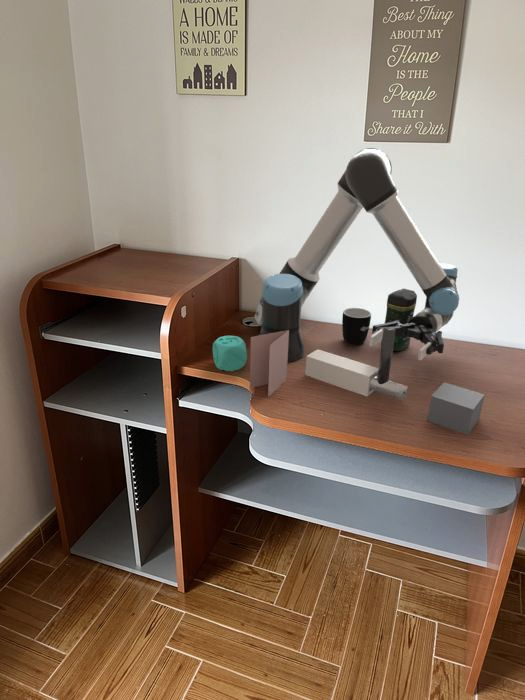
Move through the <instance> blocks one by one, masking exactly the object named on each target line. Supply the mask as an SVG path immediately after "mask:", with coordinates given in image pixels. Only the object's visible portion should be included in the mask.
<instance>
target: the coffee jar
mask: <svg viewBox="0 0 525 700" xmlns="http://www.w3.org/2000/svg"><path fill="white" fill-rule="evenodd" d="M417 298H418V295H417V293H416V292H415V290H411V289H407V288H405V287H404V288H401V289H397V290H395V291H392V292H391V293H389V294H388V295H387V300H386V312H385V320H384V323H389V322H394V321H396V320H399V321H400V324H406V323H408V322H409V321H410V319H411V318H412V317H414V316H415V315H414V313H415V310H416V305H417ZM403 334H405V333H404V332H403ZM411 338H412V337H400V336H395V338H394V346H393V351H397V352H400V351H404V350H405V349H407V348H408V347H409V345H410V343H411ZM380 342H381V343H380V346H381V345H382V340H380Z"/></svg>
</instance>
